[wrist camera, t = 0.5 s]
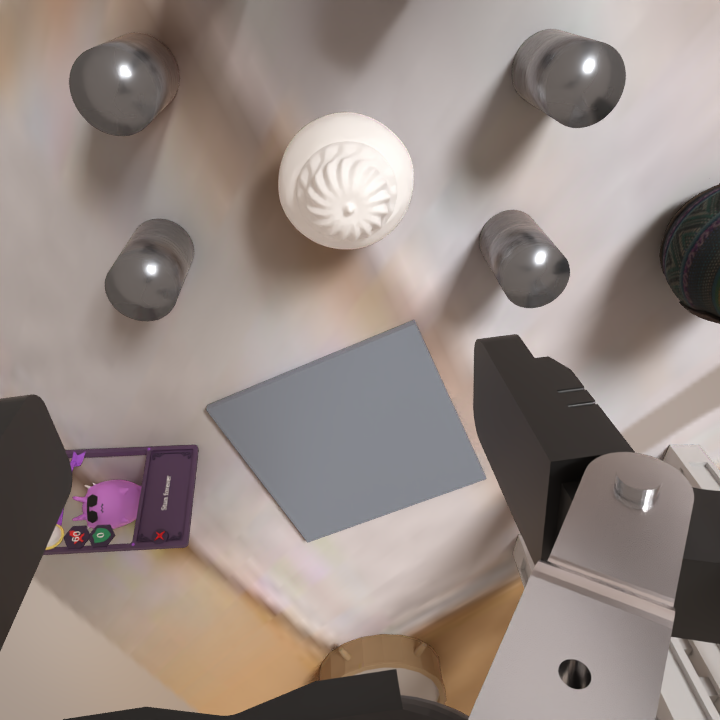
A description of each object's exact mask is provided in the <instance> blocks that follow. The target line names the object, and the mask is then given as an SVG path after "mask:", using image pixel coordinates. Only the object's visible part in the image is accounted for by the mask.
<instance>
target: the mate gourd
mask: <svg viewBox="0 0 720 720" xmlns="http://www.w3.org/2000/svg"><path fill="white" fill-rule="evenodd" d="M709 179H710V178H709ZM659 257H660V261H661V266H662V269H663V273H664V274H665V276H666V279H667V282H668V284H669V285H670V287H671V289H672V291H673V292H674V294H675V295H676V296H677V297H678V298H679V300H680V302H679V303H680V304H681V305H682V306H684V308H686V309H687V310H688V311H689V312H691V313H692V314H694V315H696V316H698V317H700V318H702V319H705V320H708V321H711V322H715V323H719V324H720V183H719V185H717V186H714V187H712V188H710V189H708V190H706V191H703V192H702V193H700V194H698V195H696V196H695V197H694V198H692V199H691V200H690V201H689V202H687V203H686V204H685V205H684V206H683V207H682V208H681V209H680V210H679V211H678V212H677V213H676V214H675V216H674V217H673V218H672V220H671V222H670V223H669V225H668V227H667V229H666V232H665V234H664V237H663V240H662V243H661V249H660V256H659Z"/></svg>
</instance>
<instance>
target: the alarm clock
mask: <svg viewBox="0 0 720 720" xmlns="http://www.w3.org/2000/svg"><path fill="white" fill-rule="evenodd" d="M393 669H396V670H397V676H398V682H399V688H400V694H401V695H405V696H413V697H419V698H423V699H427V700H431V701H435V702H438V703H441V704H443V705H445V702H446V694H445V687H444V684H443V680H442V675H441V669H440V662H439V656H438V655H437V654H436V652H435V651H434V650H433V648H432V647H431V646H430V645H428V644H426V643H424V642H422V641H421V640H419V639H416V638H412V637H408V636H403V635H390V634H380V635H373V636H366V637H361V638H358V639H355V640H352V641H350V642H347V643H344V644H342V645H341V646H339V647H338V648H336V649H335V650H333V651H331V652H330V653H329V654H328V656H327V657H326V658H325V659H324V661H323V662H322V664H321V669H320V674H319V679H320V680H327V679H333V678H340V677H346V676H353V675H360V674H366V673H373V672H379V671H386V670H393Z"/></svg>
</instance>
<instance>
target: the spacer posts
mask: <svg viewBox="0 0 720 720" xmlns="http://www.w3.org/2000/svg"><path fill="white" fill-rule="evenodd" d="M625 79H626V72H625V66H624V62H623V60H622V57H621V56H620V54H619V53H618V52H617V51H616V50H615V49H614V48H613V47H612V46H610V45H608V44H606V43H603V42H600V41H596V40H593V39H589V38H585V37H582V36H578V35H575V34H571V33H568V32H564V31H561V30H557V29H546V30H542V31H540V32H537V33H535V34H534V35H532V36H531V37H529V38H528V39H527V40H526V41H525V42H524V43H523V44H522V45H521V47H520V48H519V50H518V52H517V54H516V56H515V58H514V61H513V66H512V80H513V84H514V87H515V89H516V91H517V93H518V94H519V95H520V96H521V97H522V98H523V99H524V100H526V101H527V102H529V103H530V104H532V105H534V106H535V107H537V108H538V109H540V110H541V111H543V112H544V113H546V114H547V115H549V116H550V117H552V118H553V119H555V120H556V121H558V122H559V123H561V124H563V125H565V126H568V127H572V128H582V127H587V126H590V125H593V124H595V123H597V122H599V121H600V120H602V119H603V118H605V117H606V116H607V115H608V114H609V113H610V112H611V111H612V110H613V108H614V107H615V106H616V104H617V103H618V101H619V99H620V97H621V95H622V92H623V89H624V86H625ZM179 82H180V75H179V69H178V65H177V62H176V60H175V58H174V56H173V54H172V53H171V51H170V50H169V49H168V48H167V47H166V46H165V45H164V44H163V43H162V42H161V41H160V40H158V39H156V38H155V37H153V36H151V35H148V34H144V33H129V34H126V35H123V36H121V37H118V38H116V39H113V40H111V41H108V42H106V43H103V44H101V45H98V46H96V47H93V48H91V49H89V50H86V51H85V52H83V53H82V54H81V55H80V56H79V57H78V58H77V59H76V61H75V62H74V64H73V66H72V69H71V72H70V78H69V85H70V92H71V96H72V99H73V102H74V104H75V106H76V108H77V109H78V111H79V112H80V114H81V115H82V116H83V117H84V118H85V119H86V121H88V122H89V123H90V124H91V125H92V126H94V127H95V128H97V129H99V130H100V131H102V132H105V133H107V134H111V135H116V136H128V135H132V134H135V133H137V132H139V131H141V130H142V129H144V128H145V127H146V126H147V125H148V124H149V123H150V122H151V121H152V120H153V119H154V118H155V117H156V116H157V115H158V114H159V113H160V112H161V111H162V110H163V109H164V108H165V107H166V106H167V105H168V104H169V103H170V102H171V101H172V100H173V98H174V97H175V95H176V93H177V91H178V88H179ZM479 246H480V250H481V252H482V254H483V256H484V258H485V260H486V261H487V263H488V265H489V266H490V268H491V270H492V272H493V273H494V275H495V277H496V279H497V280H498V282H499V284H500V285H501V287H502V289H503V291H504V292H505V294H506V296H507V297H508V299H509V300H510V301H511V302H513V303H514V304H516V305H518V306H520V307H524V308H536V307H541V306H544V305H546V304H548V303H550V302H552V301H553V300H554V299H556V298H557V297H558V296H559V295H560V294H561V293H562V292H563V290H564V289H565V287H566V285H567V283H568V280H569V276H570V268H569V264H568V261H567V259H566V258H565V257H564V255H563V254H562V253H561V252H560V251H559V249H558V248H557V247H556V246H555V245H554V244H553V242H552V241H551V240H550V239H549V238H548V237H547V235H546V234H545V233H544V232H543V231H542V229H541V228H540V227H539V226H538V225H537V224H536V222H535V221H534V220H533V219H532V218H531V217H530V216H529V215H528V214H526V213H524V212H522V211H518V210H507V211H503V212H501V213H499V214H497V215H495V216H493V217H492V218H491V219H490V220H489V221H488V222H487V223H486V224H485V226H484V227H483V229H482V231H481V234H480V238H479ZM193 257H194V246H193V242H192V240H191V238H190V236H189V235H188V233H187V232H186V231H185V230H184V229H183V228H182V227H181V226H179V225H178V224H176V223H174V222H172V221H169V220H165V219H152V220H149V221H146V222H144V223H142V224H141V225H140V226H139V227H138V228H137V229H136V231H135V232H134V234H133V235H132V237H131V238H130V240H129V241H128V243H127V244H126V246H125V247H124V249H123V251H122V252H121V254H120V255H119V257H118V258H117V260H116V261H115V263H114V264H113V266H112V267H111V269H110V271H109V272H108V274H107V276H106V279H105V291H106V294H107V297H108V299H109V301H110V302H111V304H112V305H113V306H114V307H115V308H116V309H117V310H118V311H119V312H120V313H122V314H123V315H125V316H127V317H129V318H132V319H135V320H139V321H153V320H158V319H160V318H162V317H164V316H166V315H167V314H168V313H169V312H170V311H171V310H172V309H173V307H174V305H175V303H176V300H177V298H178V295H179V293H180V290H181V288H182V285H183V283H184V280H185V278H186V275H187V273H188V270H189V268H190V265H191V263H192V260H193Z"/></svg>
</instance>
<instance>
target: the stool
mask: <svg viewBox="0 0 720 720" xmlns="http://www.w3.org/2000/svg"><path fill="white" fill-rule="evenodd" d="M663 461H664V462H666V463H668V464H670V465H672V466H673V467H674V468H676V469H677V470H679V471H680V472H681V473H682V474H683V475H684V476H685V477H686V478H687V480H688V481H689V482H690V484H691V486H692V487H694V488H699V489H706V490H716V491H720V470H719V469H718V468H717V467H716V465H715V464H714V463H713V462H712V460H711V459H710V458H709V457H708V455H707V454H706V453H705V452H704V450H703V449H702V448H701V447H700V445H670V446H669V448H668V450H667V453H666V455H665V457H664V459H663ZM513 556H514V559H515V562H516V565H517V568H518V571H519V574H520V577H521V580H522V583H523V586H524V589H525V587H526V585H527V582H528V580H529V578H530V575H531V573H532V571H533V569H534V567H535V565H534V563H533V561H532V558H531V556H530V554H529V551H528V549H527V547H526V545H525V542H524V540H523V538H522V536H521V534H518V538H517V541H516V544H515V548H514V551H513ZM655 720H720V644H715V643H708V642H702V641H695V640H689V639H682V638H676V637H671V639H670V644H669V650H668V655H667V660H666V666H665V671H664V676H663V682H662V687H661V692H660V697H659V703H658V708H657V713H656V719H655Z"/></svg>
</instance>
